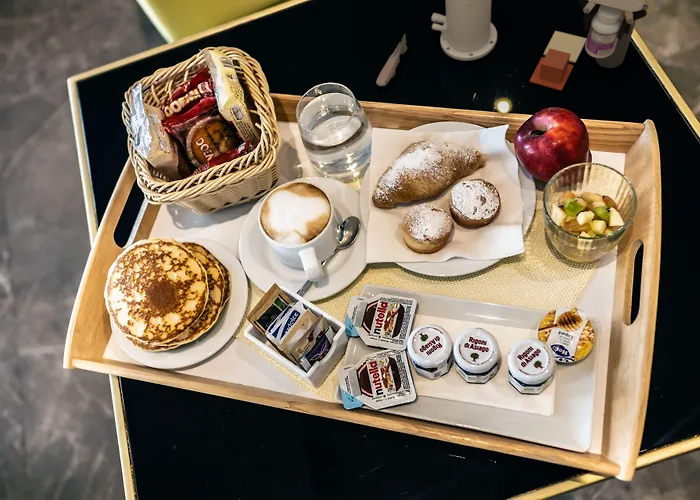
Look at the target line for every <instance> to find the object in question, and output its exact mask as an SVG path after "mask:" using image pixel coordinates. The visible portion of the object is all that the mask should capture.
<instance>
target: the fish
mask: <svg viewBox="0 0 700 500" xmlns="http://www.w3.org/2000/svg"><path fill="white" fill-rule="evenodd" d="M406 39H407V37H406V33H404V34H403V36H402V38H401V41H400V42H399V43H398V44H397V46H396V48H395V49H394V51H393V53H392V54H391V55H390V56H389V57H388V59H387V61H386V63H385V65H384V66H383V67H382V69H381V71H380V72H379V75H378V77H377V79H376V81H375V84H376V85H377V86H379V87H385V86H387V85H388V84H389V82H390V80H391V79H393V78H394V77H395V75H396V73H397V72H396V69H397V67H398V64H400V60H401V57H400V55H403V54H405V53H406V51H407V50H408V46H407V44H406V43H407V40H406Z"/></svg>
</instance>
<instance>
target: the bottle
mask: <svg viewBox="0 0 700 500" xmlns="http://www.w3.org/2000/svg"><path fill="white" fill-rule="evenodd" d="M625 16H626V15H625V10H623V12H622V17H623V20H624V18H625ZM636 21H637V20H635V21H634V22H633V23H632V25H631V28H630V30H629V33H628V34H625V33H624V35H623V37H622V39H621V40H617V44H616V47H615V50H614V52H613V53H612V54H611V55H609V56H607V57H605V58H595V57H594V60H595V63H596V64H597V65H599V66H600V67H601V68H606V69H607V68H608V69H613V68H616V67H619V66H620V65H621V64H623V62H624V60H625V57H626V54H627V51H628V48H629V46H630V45H629V44H630V43H631V39H632V36H633V33H634V29H635V26H636Z"/></svg>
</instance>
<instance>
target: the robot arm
mask: <svg viewBox="0 0 700 500" xmlns="http://www.w3.org/2000/svg"><path fill="white" fill-rule="evenodd" d="M444 2H445V15H444V14H440V13H437V12H433V13H432V14H431V22H433V23H432V25H431V29H432V30H434V31H439V32H440V33H441V34H440V38H439V39H440V40H439V41H440V46H441V49H442V51H443V52H444V53H445V54H446V56H448V57H450V58H452V59H454V60H457V61H464V62H467V61H469V62H470V61H475V60H479V59H481V58H483V57H486V56H487V55H488V54H489V53H490V52H491V51H493V50H494V48H495V46H496V44H497V42H498V31H497V29H496V26H495V25H494V24H493V23H492V22H491V19H492V0H445V1H444ZM577 2H578V3H579V4H580V6H582V11H583V13H584V14H583V18H582V23H583V24H584V27H583V31H584V32H587V31H588V32H589V29H590V25H591V21H592V18H593V16H594V15H595V14H596V13H597V7H598V5H600V6H601V5H605V6H609V7H613V8H618V9H622V10H625V15H626V16H625V18H624V20H623V22H622V25H621V28H620V31H619V34H618V37H617V38H618V40H621V39H622V37H623V35H624V33H625V34H628V33H629V30H630V28H631V25H632V23H633V22H634V21H635V20H636V21H638V20H641V19H643V18H645V17H646V16H650V15H653V14H656V13H658V12H659V11H660V8H661V6H662V4H661V2H660V0H577Z"/></svg>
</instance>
